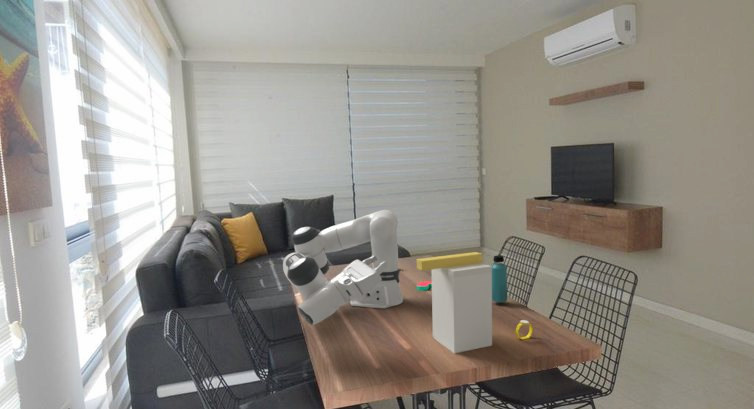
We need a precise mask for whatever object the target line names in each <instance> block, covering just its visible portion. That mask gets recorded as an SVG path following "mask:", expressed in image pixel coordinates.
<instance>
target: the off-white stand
mask: <svg viewBox="0 0 754 409" xmlns="http://www.w3.org/2000/svg"><path fill="white" fill-rule="evenodd" d="M430 271H431V281H432V287H431V304H432V305H431V306H432V307H431V308H432V309H431V310H432V312H431V315H432V316H431V317H432V338H433V339H434V340H435V341H437V342H438V343H440V344H441V345H442V346H444V347H445V348H447V350H449V351H450V352H452V353H453V354H459V353H463V352H467V351H468V352H469V351H472V350H476V349H481V348H482V349H483V348H487V347H491V346H493V301H492V265H490V264H486V263H484V262H482V263H477V264H470V265H462V266H455V267H447V268H440V269H432V270H430Z"/></svg>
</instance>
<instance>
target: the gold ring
mask: <svg viewBox="0 0 754 409" xmlns="http://www.w3.org/2000/svg"><path fill="white" fill-rule="evenodd" d="M522 326H528V327H529V328H528V329H529V331H528V334H527V335H525V336H520V329H521V327H522ZM533 332H534V329H533V325H532V324H531V323H530V322H529V321H528V320H525V319H522V320H519V323H518V324H517V325H516V328H515V335H516V337H517V339H520V340H522V341H523V340H529V339H530V338H531V337H532V335H533Z"/></svg>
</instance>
